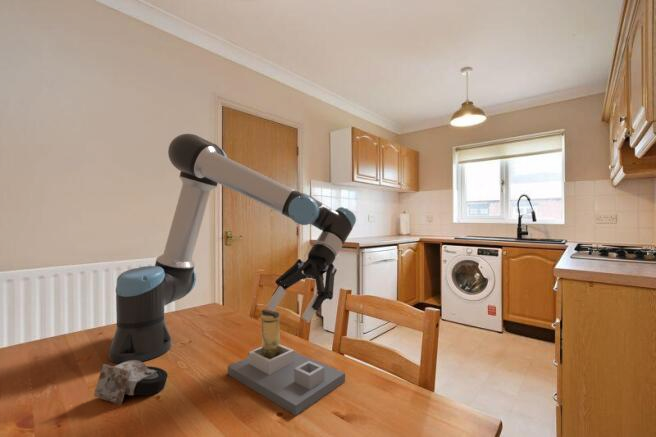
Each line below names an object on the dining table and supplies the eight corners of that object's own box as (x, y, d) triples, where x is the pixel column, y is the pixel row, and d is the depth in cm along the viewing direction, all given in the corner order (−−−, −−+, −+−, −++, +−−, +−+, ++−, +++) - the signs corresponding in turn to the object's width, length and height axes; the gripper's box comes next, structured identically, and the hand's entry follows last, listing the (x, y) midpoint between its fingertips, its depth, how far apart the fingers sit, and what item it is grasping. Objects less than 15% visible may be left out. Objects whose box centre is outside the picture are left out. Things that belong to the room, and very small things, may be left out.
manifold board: (227, 374, 75) (227, 353, 75) (277, 351, 87) (277, 334, 87) (295, 415, 59) (295, 390, 59) (345, 381, 72) (345, 360, 72)
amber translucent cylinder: (257, 363, 76) (256, 312, 76) (272, 356, 80) (270, 307, 80) (270, 369, 73) (269, 316, 73) (285, 361, 77) (284, 311, 77)
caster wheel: (169, 392, 71) (138, 413, 62) (127, 378, 73) (91, 397, 63) (177, 363, 72) (148, 380, 62) (136, 350, 74) (101, 364, 64)
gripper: (365, 263, 84) (329, 333, 73) (301, 255, 100) (264, 311, 89) (354, 245, 80) (314, 317, 69) (289, 240, 96) (249, 297, 85)
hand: (286, 314), depth 79 cm, fingers open, 13 cm apart
